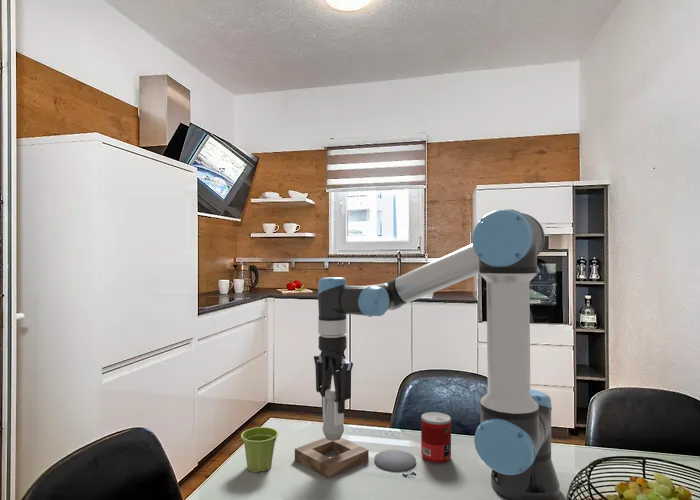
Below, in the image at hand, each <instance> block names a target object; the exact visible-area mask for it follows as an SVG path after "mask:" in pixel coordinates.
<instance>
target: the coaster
mask: <svg viewBox="0 0 700 500" xmlns="http://www.w3.org/2000/svg"><path fill="white" fill-rule="evenodd" d="M373 458H374V464H375V465H376V466H377V467H379V468H380V469H382V470H385V471H389V472H405V471H409V470H411V469H413V468H414V467H415V466H416V464H417V461H416V460H417V458H416V457H415V456H414V455H413V454H412V453H410V452H407V451H403V450H400V449H399V450H398V449H388V450H383V451H380V452H378V453H377V454H375V456H374V457H373Z"/></svg>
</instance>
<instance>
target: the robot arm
mask: <svg viewBox="0 0 700 500" xmlns="http://www.w3.org/2000/svg"><path fill="white" fill-rule="evenodd" d="M545 236H546V235H545V231H544V227H543V226H542V225H541V223H540V222H539V221H538V220H537V219H536V218H535V217H533V216H531V215H530V214H527V213H522V212H520V211H518V210H515V209H506V208H505V209H497V210H493V211H491V212H489V213H486V214H485V215H484V216H483V217H482V218H480V219H479V221H477V223H476V225H475V226H474V229H473V232H472V236H471V237H472V238H471V239H472V240H471V244H469V245H466V246H464V247H461V248H459V249H458V250H455V251H453V252H451V253H448V254H446V255H444V256H442V257H439V258H437V259H435V260H433V261H431V262H428V263H425V264H423V265H422V266H420V267H417V268H415V269H413V270H410V271H408V272H406V273H404V274H402V275H400V276H398V277H396V278H393V279H391V280H389V281H386V282H383V283H378V284H370V285H348V284H347V280H346V278H345V277H341V276H339V277H337V276H335V277H333V276H332V277H330V276H329V277H326V276H325V277H321V278H320V279H319V280H318V289H317V300H318V301H317V302H318V303H317V304H318V318H317V319H318V320H317V321H318V322H317V323H318V324H317V325H318V328H317V331H318V332H317V334H319V336H318V350H319V351H320V354H317V355H314V356H313V360H314V366H315V387H316V388H315V391H316V392H317V393H319V394H320V395H321V407H322V422H324V416H325V410H326V404H327V399H326V397H325V391H326V390H327V389H329V388H332V379H333V385H334V388H335V393H336V400H334V423H335V426H339V425H342V424H343V425H344V423H345V421H344V420H345V418H344V417H345V411H346V407H345V406H346V400H350V399H352V370H353V366H354V363H353V362H352V361H348V360H347V359H346V355H345V351H346V350H347V343H348V342H347V336H346V333H347V315H354V316H355V315H356V316H366V317H382V316H384V315H385V314H386V312H387V311H391V310H393V311H394V310H398V309H399V308H401V307H403V306H404V305H406V304H409V303H411V302H413V301H416V300H418V299H421V298H423V297H425V296H428V295H431V294H432V293H435V292H438V291H440V290H442V289H444V288H445V289H446V288H448V287H451V286H452V285H455V284H457V283H459V282H462V281H464V280H467V279H469V278H472V277H475V276H477V275H480V276H481V278H483V280H484V281H485V282H486V326H487V327H486V336H487V338H486V343H487V344H486V345H487V346H486V348H487V350H486V351H487V354H486V355H487V358H486V359H487V363H486V364H487V393H486V394H485V395H484V396H482V397H481V398H480V424H478V425H477V427H476V430H475V434H474V439H473V440H474V446H475V447H474V449H475V450H476V453H477V455H478V457H479V458H480V459H481V460H482V461H483V463H484V464H485V465H486V466H487V467H488V468H489V469H491V472H490V473H491V474H490V485H491V487H492V488H493V490H494V491H495V492H496V493H498V494H499V495H500V496H501V497H503V498H505V499H508V500H558V499H559V498H560V496H561V495H560V494H561V493H560V489H561V488H560V482H559V478H558V475H557V473H556V469H555V466H554V463H553V459H552V410H553V407H552V399H551V397H550V396H549V395H548V394H547V393H545V392H543V391H540V390H535V389H532V388H531V327H530V325H531V324H530V323H531V322H530V321H531V319H530V318H531V315H530V308H531V307H530V282H531V281H532V280H533V279H534V278H535V277H537V275H538V256H539V255H540V254H541V252H542V251H543V247H544V246H545V240H546V238H545ZM340 395H341V396H340Z"/></svg>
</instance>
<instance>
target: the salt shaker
mask: <svg viewBox="0 0 700 500" xmlns="http://www.w3.org/2000/svg"><path fill="white" fill-rule="evenodd" d="M340 396H341V395H340ZM325 397H326V399H327V404H326V410H325V416H324V421H322V422H323V423H322V432H323V435H324V437H326V438H327V440H331V441H336V440H340V438H342V436H343V434H344V432H345V426H344V424H342V425H339V426H335V423H334V400H336V393H335V387H331V388H329V389H327V390H326V391H325Z"/></svg>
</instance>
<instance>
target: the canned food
mask: <svg viewBox="0 0 700 500" xmlns="http://www.w3.org/2000/svg"><path fill="white" fill-rule="evenodd" d="M420 419H421V421H420V425H421V427H420V429H421V430H420V431H421V434H420V437H421V438H420V439H421V442H420V445H421V446H420V447H421V449H420V450H421V452H420V453H421V457H422V459H424V460H425V461H426V462H429V463H432V464H433V463H434V464H445V463H448V462H449V461H450V460H451V457H452V417H451V415H448V414H447V413H443V412H437V411H430V412H425V413H422V414H421V418H420Z"/></svg>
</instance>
